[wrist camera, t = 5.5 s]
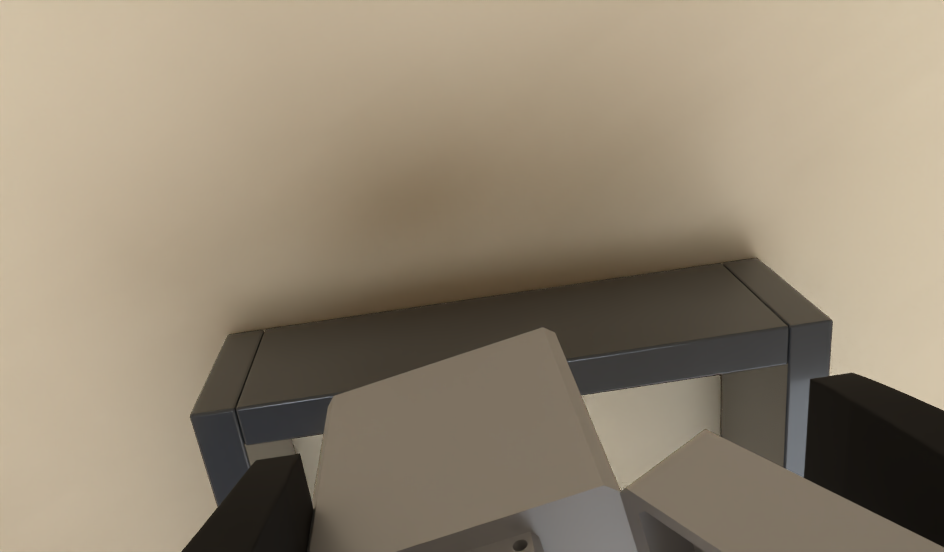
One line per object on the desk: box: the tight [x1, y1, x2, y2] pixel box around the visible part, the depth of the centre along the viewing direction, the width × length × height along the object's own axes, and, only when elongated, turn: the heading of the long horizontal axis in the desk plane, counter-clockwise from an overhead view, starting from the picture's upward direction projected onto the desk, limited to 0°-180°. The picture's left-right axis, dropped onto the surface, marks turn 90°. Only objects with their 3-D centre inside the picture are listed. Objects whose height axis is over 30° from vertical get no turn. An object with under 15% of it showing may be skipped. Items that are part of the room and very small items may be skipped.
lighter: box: [307, 327, 944, 552], centre depth 10 cm, size 7×2×8 cm, turn 108°
